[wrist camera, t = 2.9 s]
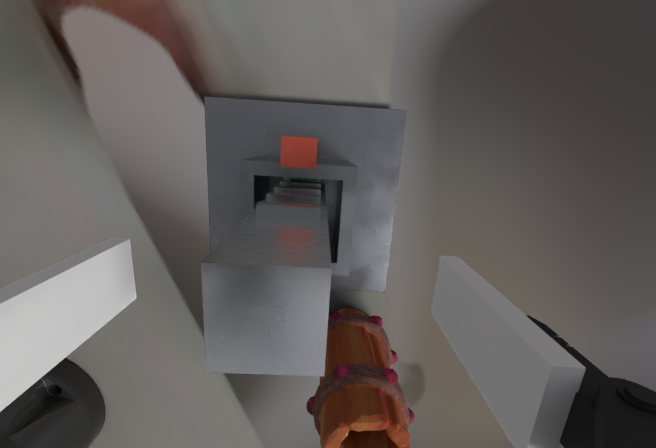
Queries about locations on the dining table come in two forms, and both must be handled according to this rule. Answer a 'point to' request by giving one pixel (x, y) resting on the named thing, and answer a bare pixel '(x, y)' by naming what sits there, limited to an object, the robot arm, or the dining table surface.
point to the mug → (359, 387)
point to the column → (271, 286)
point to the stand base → (310, 173)
